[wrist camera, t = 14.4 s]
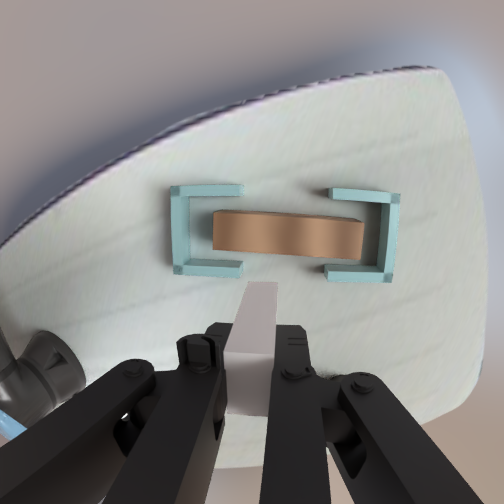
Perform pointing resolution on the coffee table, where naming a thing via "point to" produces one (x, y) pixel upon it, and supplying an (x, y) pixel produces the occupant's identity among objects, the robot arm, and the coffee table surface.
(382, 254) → the cap
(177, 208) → the teal staple arch
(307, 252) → the slat
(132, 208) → the coffee table surface
